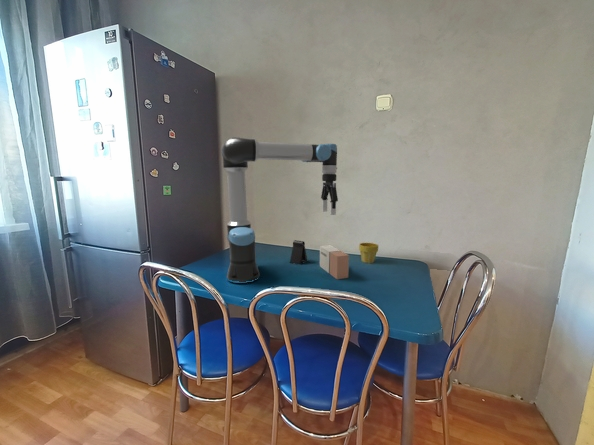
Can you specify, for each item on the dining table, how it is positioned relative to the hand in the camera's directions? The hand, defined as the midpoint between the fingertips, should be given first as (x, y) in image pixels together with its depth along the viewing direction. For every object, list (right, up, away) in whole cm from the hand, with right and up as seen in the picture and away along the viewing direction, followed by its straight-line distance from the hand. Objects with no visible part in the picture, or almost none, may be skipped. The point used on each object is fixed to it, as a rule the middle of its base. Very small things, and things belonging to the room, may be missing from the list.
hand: (328, 213), depth 155 cm
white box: (-1, -29, -9) cm, 30 cm away
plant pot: (+23, -27, +4) cm, 36 cm away
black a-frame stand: (-16, -27, +4) cm, 32 cm away
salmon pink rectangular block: (+3, -31, -18) cm, 36 cm away
